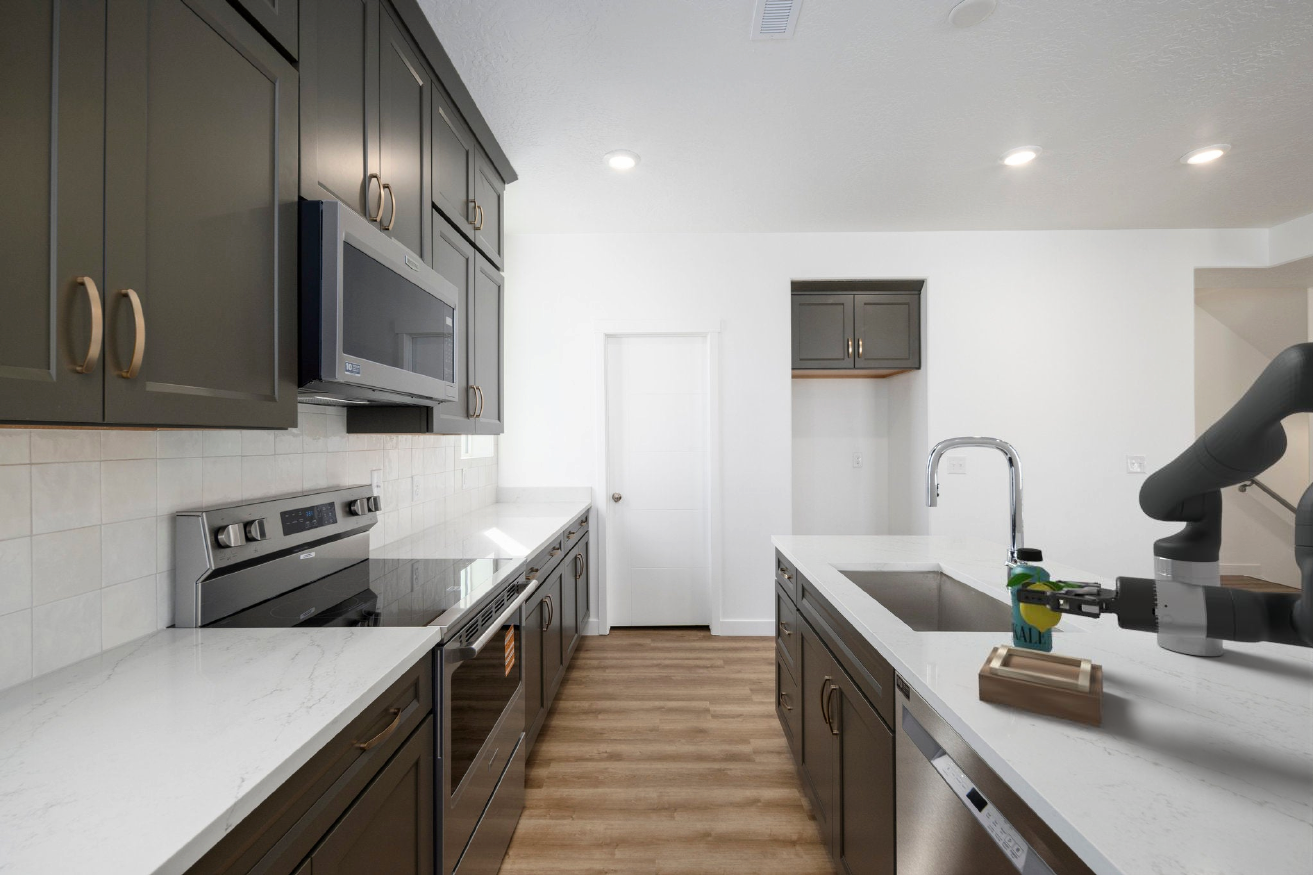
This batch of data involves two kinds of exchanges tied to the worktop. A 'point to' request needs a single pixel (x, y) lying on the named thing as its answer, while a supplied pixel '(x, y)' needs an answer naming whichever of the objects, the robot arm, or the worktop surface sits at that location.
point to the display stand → (1043, 683)
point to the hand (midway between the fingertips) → (1020, 591)
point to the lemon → (1037, 613)
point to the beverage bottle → (1022, 630)
